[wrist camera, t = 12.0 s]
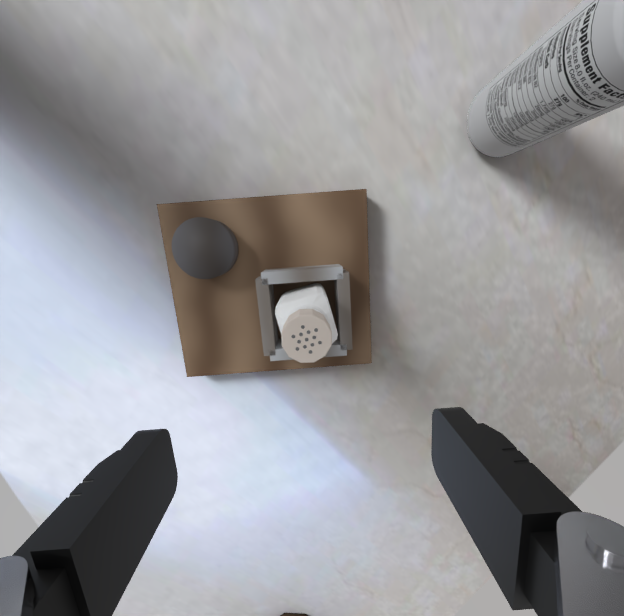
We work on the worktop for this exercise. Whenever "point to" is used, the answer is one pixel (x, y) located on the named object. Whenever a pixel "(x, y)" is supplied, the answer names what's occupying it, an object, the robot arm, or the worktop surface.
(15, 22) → the worktop surface
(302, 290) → the salt shaker
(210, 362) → the carrier board
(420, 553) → the worktop surface
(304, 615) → the beer bottle
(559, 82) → the energy drink can
